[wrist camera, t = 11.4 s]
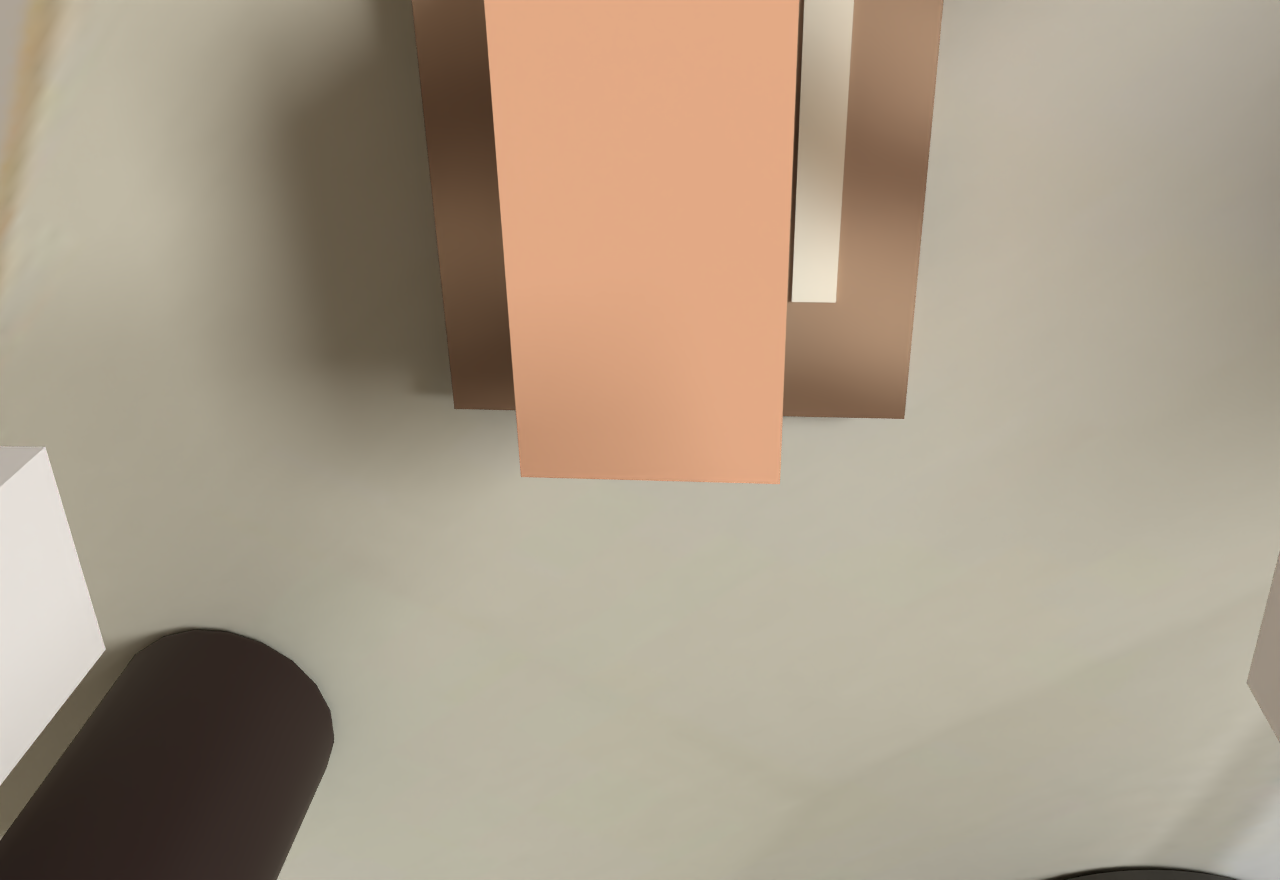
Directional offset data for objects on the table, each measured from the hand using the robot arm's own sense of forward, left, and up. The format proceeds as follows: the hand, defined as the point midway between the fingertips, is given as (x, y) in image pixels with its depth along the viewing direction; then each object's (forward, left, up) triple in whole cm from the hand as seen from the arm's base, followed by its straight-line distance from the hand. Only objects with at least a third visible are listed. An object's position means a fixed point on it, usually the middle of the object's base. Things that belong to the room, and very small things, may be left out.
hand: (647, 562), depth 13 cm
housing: (+1, +1, -13) cm, 13 cm away
